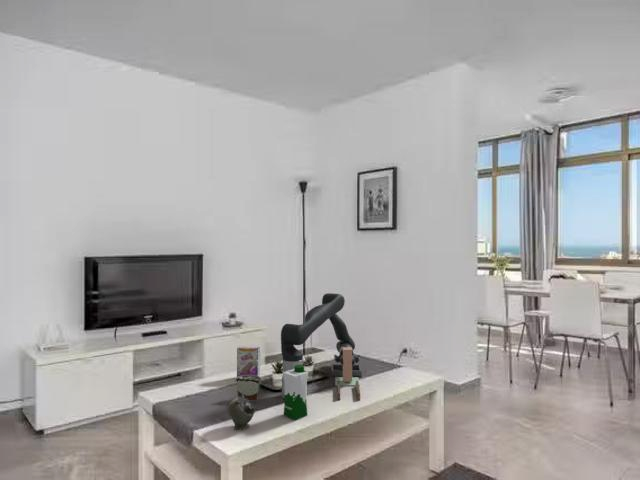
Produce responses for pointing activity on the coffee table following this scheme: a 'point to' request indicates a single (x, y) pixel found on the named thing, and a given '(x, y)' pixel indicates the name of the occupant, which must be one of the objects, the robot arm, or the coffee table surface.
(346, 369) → the terracotta post
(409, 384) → the coffee table surface
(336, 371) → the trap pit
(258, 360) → the candy bar box
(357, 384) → the walled channel
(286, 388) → the milk carton
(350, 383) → the pad
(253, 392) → the food container
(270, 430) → the coffee table surface
